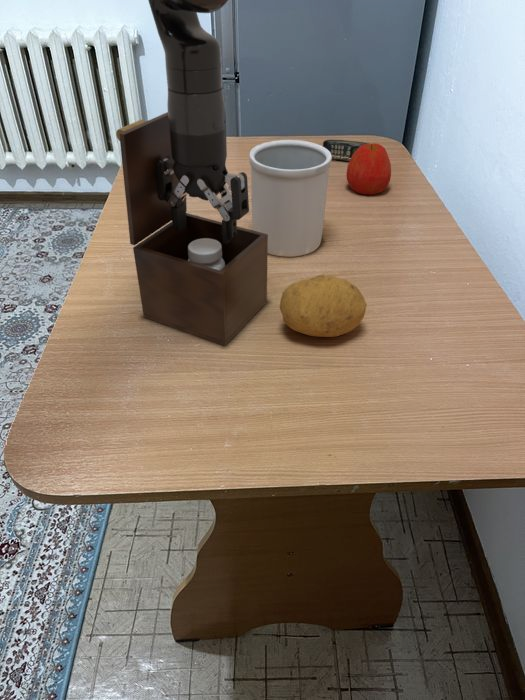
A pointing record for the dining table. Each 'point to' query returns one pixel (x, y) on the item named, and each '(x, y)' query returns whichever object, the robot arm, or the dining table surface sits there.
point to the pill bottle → (206, 253)
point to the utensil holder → (289, 194)
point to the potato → (322, 306)
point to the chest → (202, 280)
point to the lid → (145, 175)
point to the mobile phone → (342, 148)
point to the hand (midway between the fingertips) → (204, 234)
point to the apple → (369, 169)
